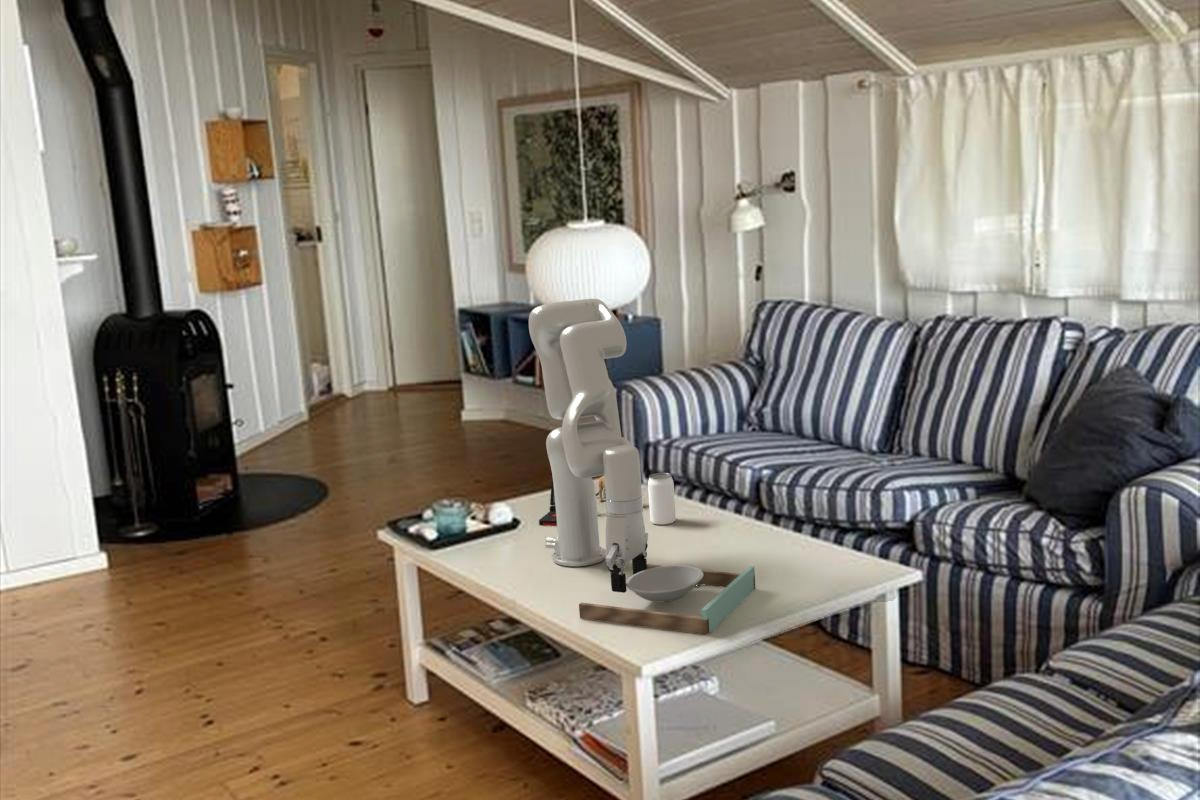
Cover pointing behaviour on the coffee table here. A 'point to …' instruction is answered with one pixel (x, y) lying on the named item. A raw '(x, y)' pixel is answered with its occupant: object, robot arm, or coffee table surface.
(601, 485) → the lion figurine
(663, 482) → the can
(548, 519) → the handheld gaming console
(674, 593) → the dish
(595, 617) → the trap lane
